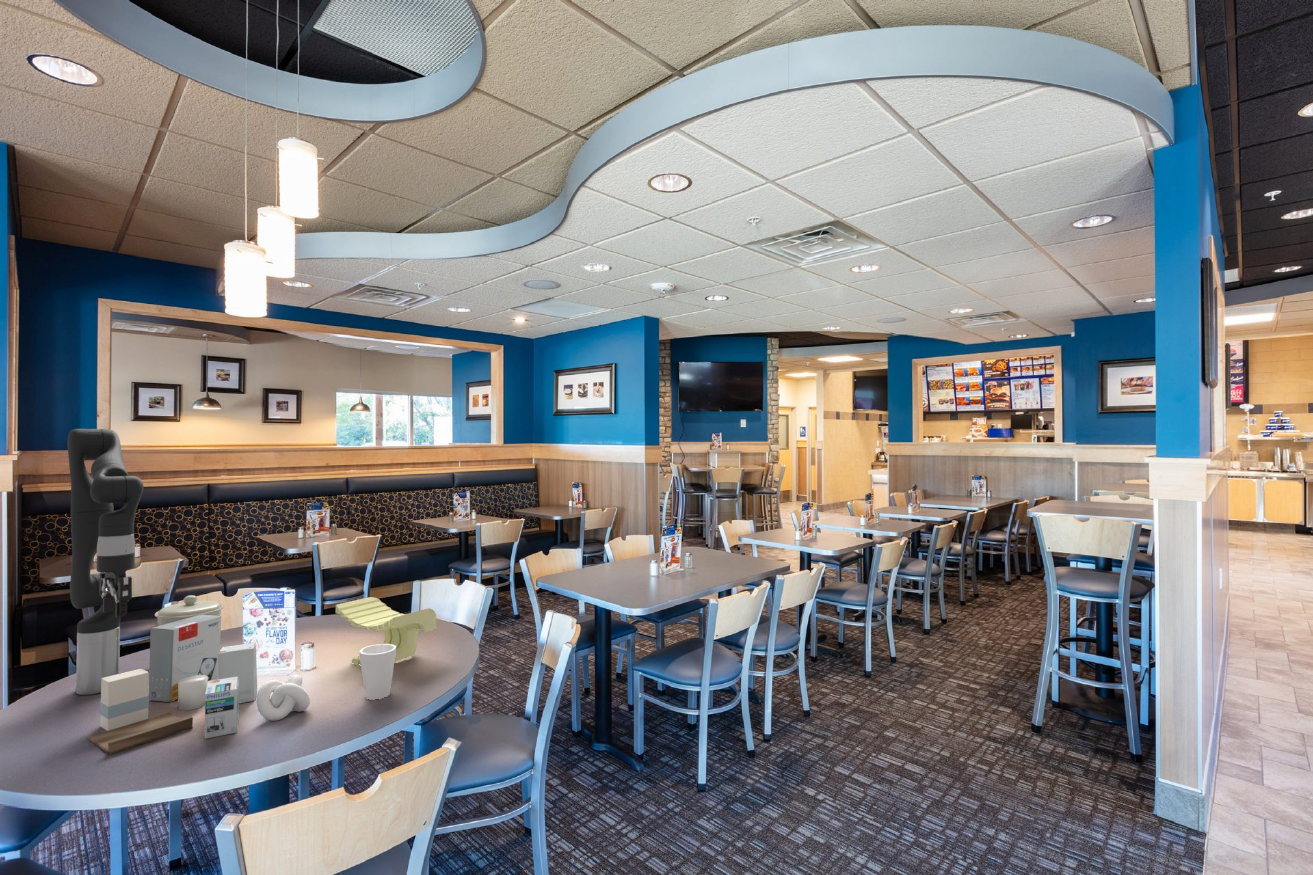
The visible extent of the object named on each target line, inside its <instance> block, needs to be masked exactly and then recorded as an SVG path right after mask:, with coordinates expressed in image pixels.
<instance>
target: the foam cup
mask: <svg viewBox="0 0 1313 875" xmlns="http://www.w3.org/2000/svg"><path fill="white" fill-rule="evenodd" d="M358 656H359V660H360V663H361V666H360V668H361V678H362V684H363V691H364V696H365V697H364V698H365V699H366V700H368V699H369V701H376V700H375V699H379V700H382V698H383V699H385V698H384V697H386V698H387V697H389V696H390V694H391V690H392V689H391V688H392V682H393V674H394V666H395V665H394V662H395V656H396V646H395V645H392V644H383V643H379V644H378V643H377V644H371V645H367V646H365V647H362V648H360V650H359V652H358ZM388 695H389V696H388Z"/></svg>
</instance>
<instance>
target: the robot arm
mask: <svg viewBox="0 0 1313 875" xmlns="http://www.w3.org/2000/svg"><path fill="white" fill-rule="evenodd" d="M67 435H68V436H67V440H66V441H67V456H68V464H69V465H68V467H69V476H70V530H71V548H72V549H71V550H72V551H71V552H72V553H71V556H72V557H71V570H70V582H69V595H70V596H69V597H70V603H71V604H72V606H73V607H74V608H75V609H79V610H80V609H81V610H82V609H86V608H87V609H88V608H94V607H99V606H100V608H99V609H98V610H97V611H95V612H94V613H92V614H91V615H89V616H87V617H85V618H83V619H81V620H79V621H78V622H77V627H76V673H75V674H76V677H75V694H77V695H79V696H86V695H94V694H101V678H104V677H108V676H112V675H116V674H120V650H121V648H120V647H121V645H120V644H121V640H120V639H121V638H120V637H121V619H122V617H126V616H127V615H128V602H129V601H130V600H132V599H133V588H132V587H133V584H132V583H133V578H132V576H127V574H126V572H127V571H131V570H133V569H134V568H135V558H136V556H135V554H136V553H135V552H136V541H135V518H136V517H135V516H136V512H137V509H138V506H139V503H140V501H141V499H142V498H141V497H142V495H143V492H144V489H145V488H144V482H143V481H142V480H141V478H140V477H138V476H135V475H129V473H128V471H127V469H126V467H125V464H124V462H123V454H122V452H123V451H122V446H121V441H120V437H119V434H118V433H117V432H116V431H115V430H113V429H109V428H108V429H107V428H74V429H71V430H70V431H69V433H68V434H67ZM85 461H86V462H87V461H93V462H92V464H91V467H90V474H91V475H90V474H89V472H88V469H87V466H86V464H85ZM91 476H92V477H91ZM120 503H121V504H122V503H124V504H123V505H122V507H121V508H120V509H117V510H114V504H120ZM95 556H96V571H97V572H98V573H92V574H91V570H92V564H93V560H94V558H95Z"/></svg>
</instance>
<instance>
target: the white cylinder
mask: <svg viewBox="0 0 1313 875" xmlns="http://www.w3.org/2000/svg"><path fill="white" fill-rule="evenodd" d="M207 683H208V676H206V675H195V676H190V677H186V678H183V679H181V680H179V681H178V699H177V710H178V711H179V710H180V711H191V710H195V709H199V708H202V707H205V692H206V687H207Z"/></svg>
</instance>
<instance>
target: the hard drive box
mask: <svg viewBox="0 0 1313 875" xmlns="http://www.w3.org/2000/svg"><path fill="white" fill-rule="evenodd" d="M221 626H222V615H220V616H214V615H198V616H194V617H190V618H187V619H183V620H179V621H176V622H172V623H168V624H164V625H161V626H158V625H157V626H154V627H151V628H150V632H149V633H150V641H149V645H150V646H149V684H148V696H149V701H155V702H156V701H157V702H165V703H171V702H173V701H176V700H178V681H179V680H181V679H183V678H186V677H190V676H195V675H206V676H208V681H211V680H219V663H218V654H219V652H220V650H221V631H222V630H221V628H222V627H221Z"/></svg>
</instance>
